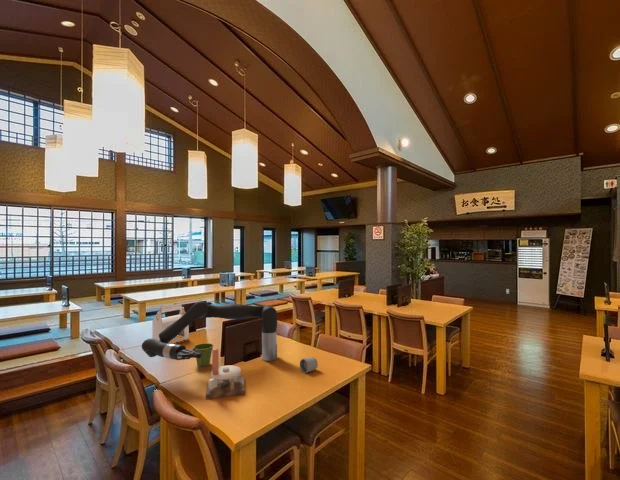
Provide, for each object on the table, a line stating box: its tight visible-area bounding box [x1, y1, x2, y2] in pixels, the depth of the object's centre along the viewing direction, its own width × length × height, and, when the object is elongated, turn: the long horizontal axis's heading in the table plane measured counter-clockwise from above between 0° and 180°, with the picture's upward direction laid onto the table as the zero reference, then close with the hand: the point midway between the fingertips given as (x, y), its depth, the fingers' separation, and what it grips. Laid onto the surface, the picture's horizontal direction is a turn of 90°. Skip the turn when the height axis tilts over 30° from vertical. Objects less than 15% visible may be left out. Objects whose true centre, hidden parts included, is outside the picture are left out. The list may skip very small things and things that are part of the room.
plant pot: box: [192, 342, 215, 367], centre depth 187 cm, size 12×12×11 cm
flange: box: [208, 348, 242, 389], centre depth 155 cm, size 15×14×17 cm
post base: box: [204, 374, 245, 400], centre depth 155 cm, size 18×18×8 cm
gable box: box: [151, 303, 190, 343], centre depth 233 cm, size 22×13×28 cm, turn 145°
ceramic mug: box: [299, 356, 319, 374], centre depth 177 cm, size 11×8×8 cm
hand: (200, 355), depth 155 cm, fingers closed
